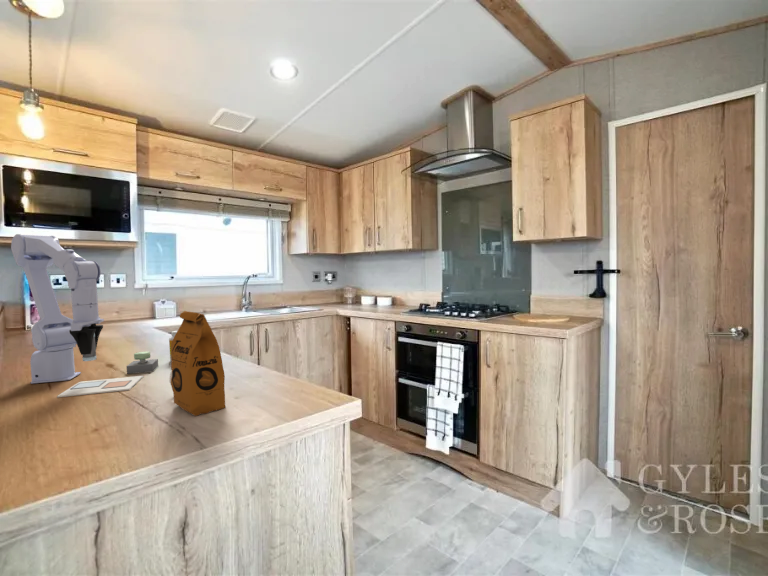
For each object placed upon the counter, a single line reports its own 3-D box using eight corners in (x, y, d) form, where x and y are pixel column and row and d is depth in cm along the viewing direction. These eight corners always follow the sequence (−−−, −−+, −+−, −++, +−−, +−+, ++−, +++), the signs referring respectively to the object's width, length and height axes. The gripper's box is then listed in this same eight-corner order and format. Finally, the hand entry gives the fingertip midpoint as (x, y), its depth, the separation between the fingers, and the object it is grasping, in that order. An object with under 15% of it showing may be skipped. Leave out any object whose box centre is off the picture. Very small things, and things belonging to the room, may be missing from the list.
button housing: (127, 373, 120) (126, 366, 120) (134, 368, 127) (133, 361, 127) (152, 371, 122) (152, 363, 122) (158, 366, 129) (157, 358, 129)
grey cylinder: (80, 361, 107) (78, 332, 107) (85, 359, 110) (83, 331, 110) (94, 360, 108) (92, 331, 108) (98, 358, 111) (96, 330, 111)
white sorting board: (57, 397, 99) (57, 395, 99) (79, 383, 111) (79, 381, 111) (129, 390, 104) (129, 388, 104) (143, 376, 116) (143, 375, 116)
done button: (132, 368, 122) (132, 355, 121) (137, 364, 126) (136, 352, 126) (148, 366, 123) (148, 353, 123) (152, 363, 127) (151, 351, 127)
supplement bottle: (171, 362, 133) (169, 333, 132) (169, 359, 138) (167, 331, 137) (189, 360, 136) (187, 331, 136) (187, 357, 141) (185, 329, 140)
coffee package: (185, 420, 82) (179, 316, 80) (168, 406, 91) (163, 312, 90) (232, 408, 89) (227, 312, 87) (212, 395, 98) (208, 308, 96)
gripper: (92, 305, 103) (95, 356, 103) (111, 301, 116) (114, 346, 117) (59, 307, 100) (63, 359, 101) (82, 302, 114) (86, 348, 115)
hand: (88, 352), depth 109 cm, fingers closed on grey cylinder, 3 cm apart
